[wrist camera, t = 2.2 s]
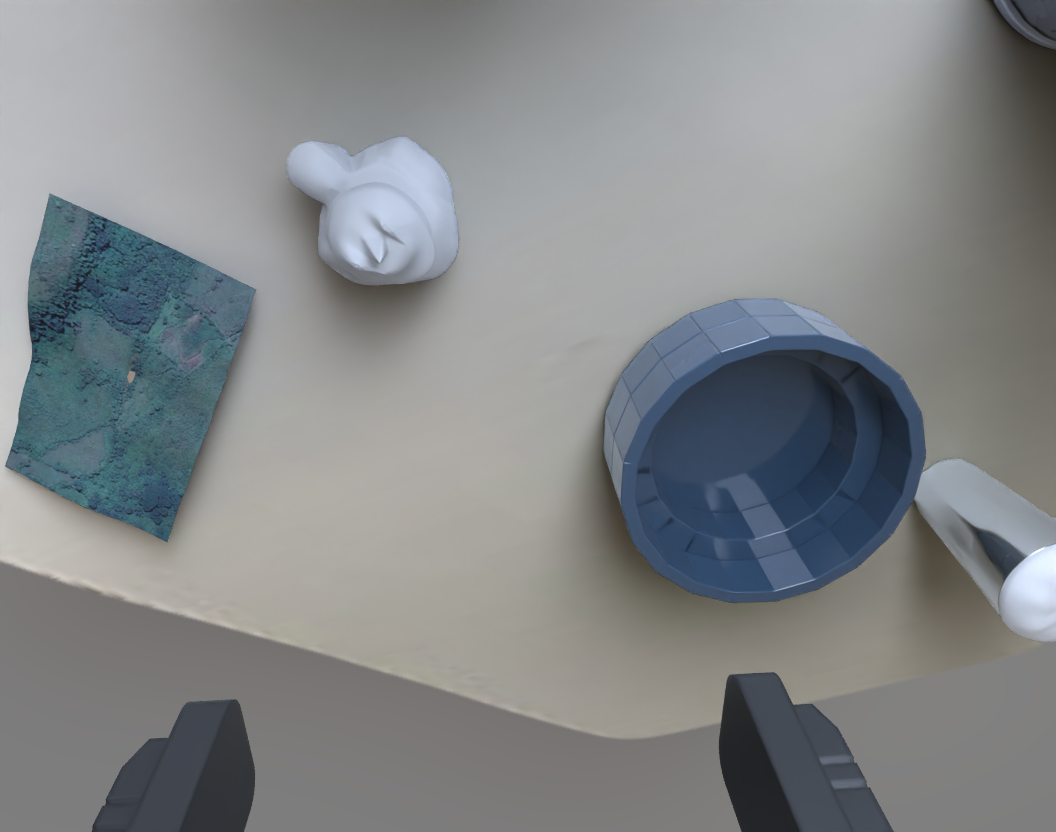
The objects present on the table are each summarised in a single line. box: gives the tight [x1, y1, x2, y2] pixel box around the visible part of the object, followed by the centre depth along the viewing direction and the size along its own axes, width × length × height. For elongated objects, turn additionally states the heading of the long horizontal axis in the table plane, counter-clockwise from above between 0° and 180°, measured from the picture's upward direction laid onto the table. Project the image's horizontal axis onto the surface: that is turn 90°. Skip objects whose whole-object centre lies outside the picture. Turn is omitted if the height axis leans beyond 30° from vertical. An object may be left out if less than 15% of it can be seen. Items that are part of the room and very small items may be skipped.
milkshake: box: [914, 458, 1056, 642], centre depth 32 cm, size 4×5×10 cm
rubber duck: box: [286, 137, 459, 285], centre depth 26 cm, size 5×7×8 cm
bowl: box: [603, 299, 926, 603], centre depth 32 cm, size 12×12×5 cm
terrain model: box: [5, 194, 256, 542], centre depth 31 cm, size 13×8×2 cm, turn 154°
